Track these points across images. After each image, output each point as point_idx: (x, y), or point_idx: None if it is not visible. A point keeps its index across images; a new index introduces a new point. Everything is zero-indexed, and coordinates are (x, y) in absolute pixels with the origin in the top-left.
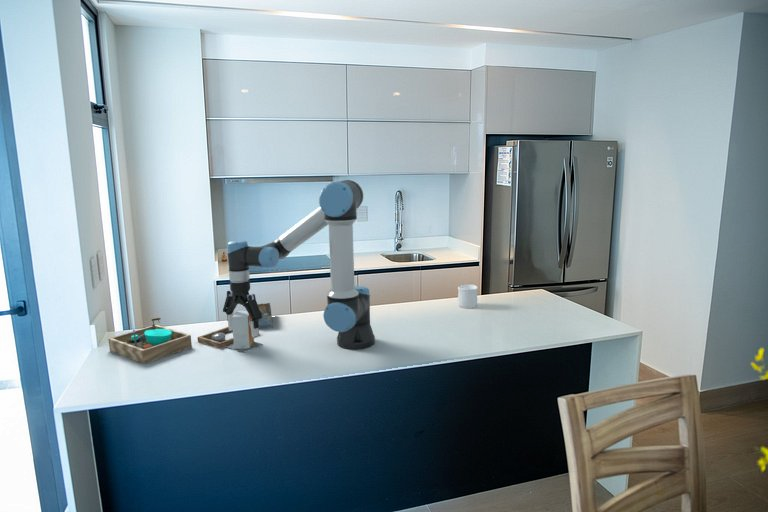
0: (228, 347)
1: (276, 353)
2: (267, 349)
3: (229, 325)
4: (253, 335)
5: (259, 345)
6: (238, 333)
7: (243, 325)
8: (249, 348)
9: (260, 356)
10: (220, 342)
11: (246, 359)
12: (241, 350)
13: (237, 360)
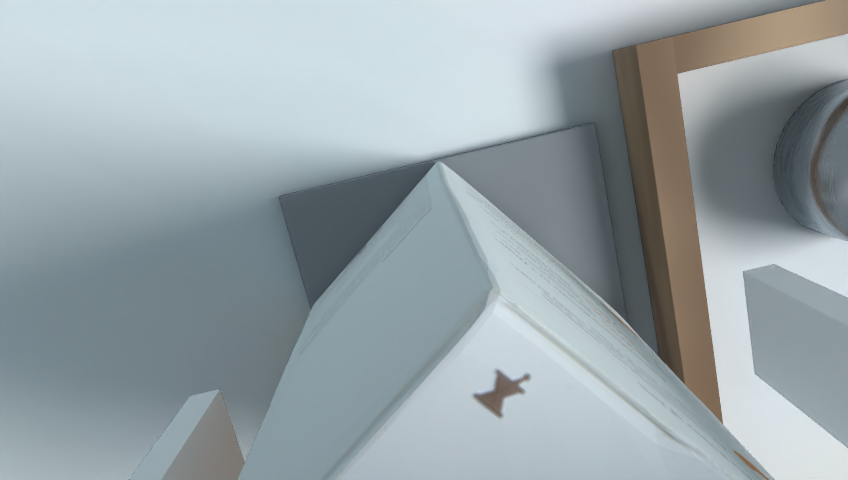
0: (544, 135)
1: (15, 451)
2: None
3: (804, 300)
4: (183, 416)
5: None
6: (380, 263)
7: (294, 407)
8: None
9: (37, 288)
10: (674, 77)
11: (47, 125)
12: (328, 204)
13: (83, 27)
